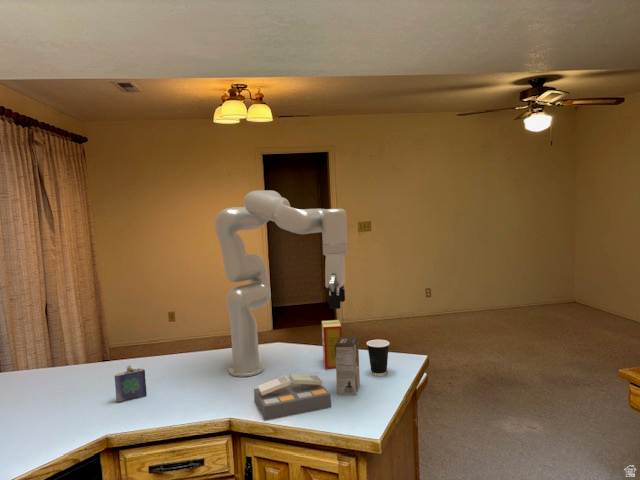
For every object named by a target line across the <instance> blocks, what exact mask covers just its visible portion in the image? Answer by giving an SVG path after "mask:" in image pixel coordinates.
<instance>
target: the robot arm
mask: <svg viewBox="0 0 640 480" xmlns="http://www.w3.org/2000/svg"><path fill="white" fill-rule="evenodd" d="M269 221H270V222H271V221H272V222H274V223H275V225H277V227H279V228H280V229H282V230H284V231H288V232H290V233H294V234H298V235H307V234H308V235H309V234H316V233H321V236H322V239H321V240H322V255H323V256H325V263H324V264H325V265H324V266H325V267H324V269H325V270H324V272H325V273H324V277H325V278H324V279H325V280H324V281H325V282H324V283H325V288H326V289H328V288H329V290H328V291H329V293H328V294H329V295H328V301H329V309H330V310H339V309H341V303H342V302H343V303H344V302H345V301H346V292H345V291H346V290H345V283H346V263H345V262H346V261H345V255H348V253H349V252H348V249H349V248H348V230H347V229H348V227H347V226H348V225H347V224H348V223H347V211H346V210H345V209H344V208H327V209H326V208H304V209H299V208H295V207H291V204H290V202H289V200H288V199H287V198H285V197H282V196H281V194H280V193H279V192H277V191H276V190H272V189H271V190H268V189H267V190H263V189H262V190H261V189H260V190H258V189H257V190H252V191H249V192H248V193H247V194H246V195H245V196H244V198H243V206H234V207H227V208H225V209H222V210H221V211H219V213H218V214H217V215H216V218H215V221H214V230H215V233H216V237H217V240H218V242H219V246H220V250H221V254H222V255H221V256H222V262H223V266H224V272H225V276H226V278H227V280H228V282H230V283H242V282H246V281H248V282H249V283H247V284H242V285H238V286H234V287H231V289H230V290H229V291H228V292H227V293H226V296H225V302H226V303H225V304H226V307H227V310H228V315H229V322H230V336H231V337H230V339H231V350H232V351H231V352H232V353H231V354H232V355H231V356H232V366H230V368H229V369H228V373H229V374H230V375H231V376H233V377H238V378H241V377H242V378H244V377H252V376H257V375H258V374H261V373H262V372H263V371H264V368H265V367H264V364H263V363H261V362H260V357H259V337H258V334H259V333H258V323H257V319H256V317H255V315H254V314H253V312H252V311H253V310H256V309H259V308H263V307H265V306H267V305H268V304H269V303H270V301H271V297H272V292H271V286H270V281H269V275H268V270H267V265H266V262H265V261H264V258H262V257H261V255H259V254H258V253H249V254H247V251H246V248H245V246H246V245H245V242H244V239H242V237H241V236H240V234H238V231H239V232H240V231H250V230H251V231H252V230H256V229H260V228H261V227H263V226H265V225H266V224H267V223H268V222H269Z"/></svg>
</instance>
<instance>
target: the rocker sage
mask: <svg viewBox="0 0 640 480" xmlns="http://www.w3.org/2000/svg"><path fill="white" fill-rule="evenodd" d="M288 377H289V378H288V379H289V380H290V382H293V383H294V384H314V385H322V386H323V380H322V379H321V378H320V376H318V375H316V374H315V375H311V374H292V373H291V374H289V376H288Z"/></svg>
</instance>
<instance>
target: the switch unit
mask: <svg viewBox="0 0 640 480" xmlns="http://www.w3.org/2000/svg"><path fill="white" fill-rule="evenodd" d="M290 383H291V384H290V385H288V386H285V387H283V388H280V389H278V390H275V391H273V392H270V393H268V394H265V395H263V396H262V395H261V393H260V391H259V390H258V387H257V388H253V395H254V396H253V399H254V403H255V405H256V407H257V408H258V410H259V412H260V414H261V416H262V418H263V419H264V421H270V420H274V419H278V418H284V417H289V416H294V415H299V414H304V413H308V412H313V411H314V412H315V411H319V410H323V409H328V408H332V398H331V397H332V396H331V392H329V391H328V390H327V389H326V388H325V386H323V384H322V385H314V384H294V383H293V382H292V381H290Z"/></svg>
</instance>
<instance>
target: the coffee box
mask: <svg viewBox="0 0 640 480" xmlns="http://www.w3.org/2000/svg"><path fill="white" fill-rule="evenodd" d="M359 355H360V353H359V336H342V337H339V339H338V341H337V343H336V344H335V357H336V369H335V374H336V394H337V395H343V394H346V395H348V396H349V395H350V396H356V395H357V394H358V390H359V388H360V385H361V380H360V359H359V358H360V356H359ZM346 395H345V396H346Z"/></svg>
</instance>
